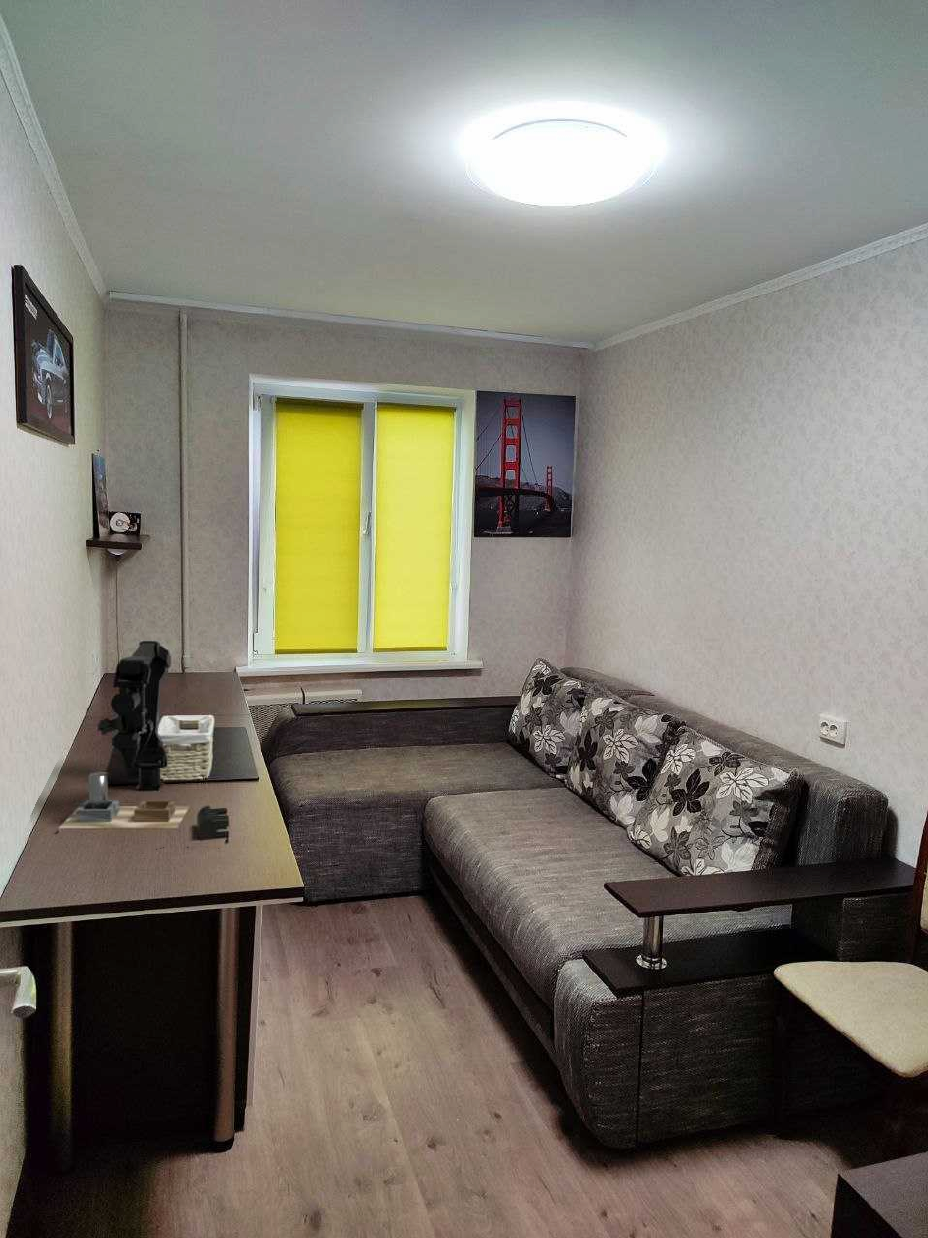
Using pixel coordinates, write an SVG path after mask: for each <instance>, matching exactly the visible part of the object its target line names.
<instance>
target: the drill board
mask: <svg viewBox="0 0 928 1238" xmlns="http://www.w3.org/2000/svg"><path fill="white" fill-rule="evenodd" d="M189 809H190V806H189V805H188V806H187V805H185V806H179V805H176V799H142V800H141V802H140V803H139V804H138V806H136V805H135V806H132V805H131V806H129V805H128V806H127V805H125V806H124V805H123V806H120V799H108V808H107V809H89V799H86V800H84V802H82V803H81V805H80V806H78V807H77V808H76V809H75V810H74V811H73V813H71V814H70V816H69V817H68V818H67V819H65V821H64V822H63V823H62V824H61V825H60V826H59V827H58V833H60V832H61V831H62V830H63V829H142V828H143V829H177V828H178V827H179V826H180V824H181V822H182V820H183V818H185V817H184V816H185V815H186V814H187V812H188V811H189Z"/></svg>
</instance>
